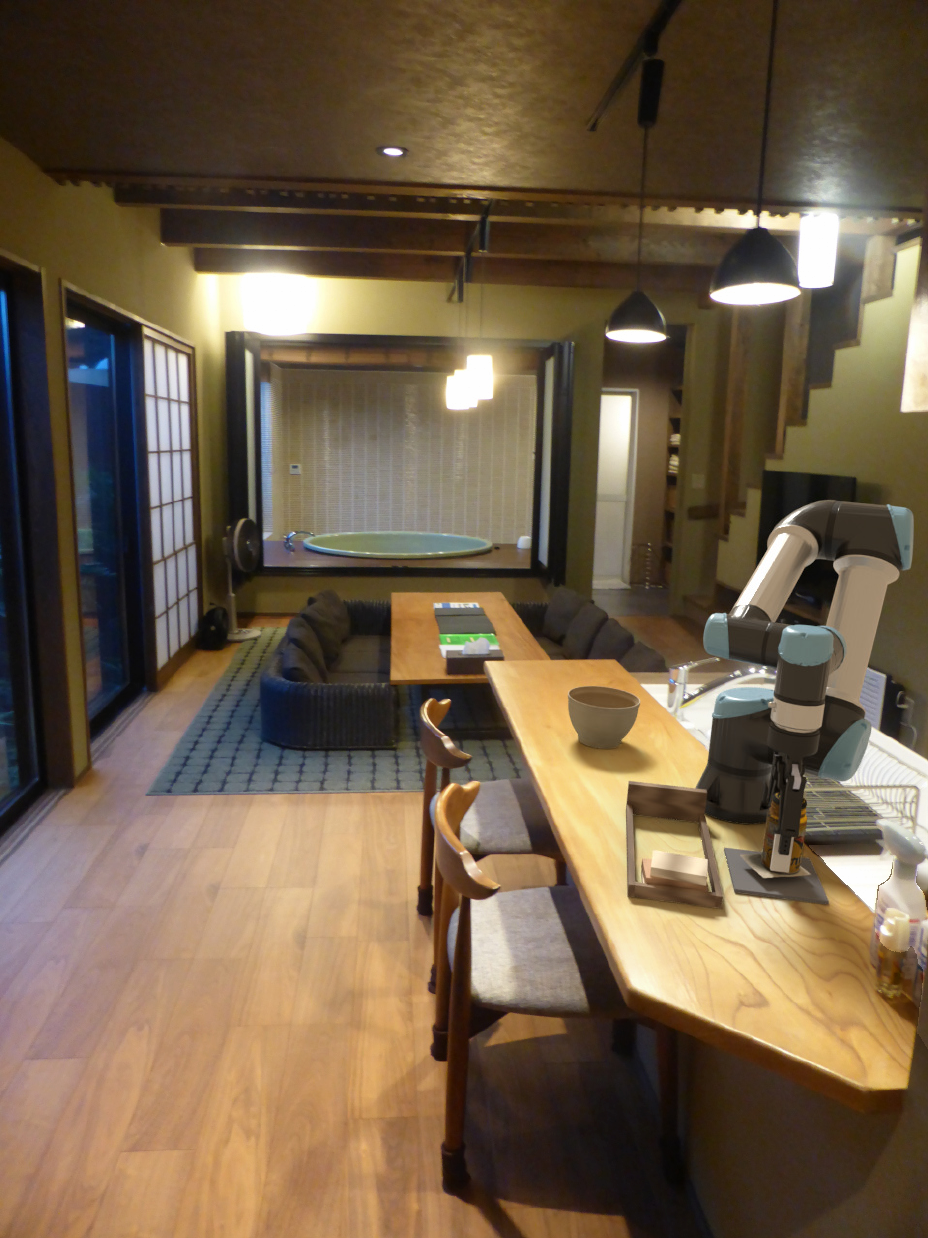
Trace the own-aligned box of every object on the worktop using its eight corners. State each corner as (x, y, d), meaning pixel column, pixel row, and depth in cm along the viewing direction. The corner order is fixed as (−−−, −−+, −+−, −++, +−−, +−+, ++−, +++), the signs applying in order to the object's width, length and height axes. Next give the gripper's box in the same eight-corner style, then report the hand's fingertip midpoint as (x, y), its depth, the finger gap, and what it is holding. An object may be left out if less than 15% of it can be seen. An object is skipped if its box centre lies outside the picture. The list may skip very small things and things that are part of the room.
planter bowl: (604, 761, 188) (608, 712, 185) (549, 738, 200) (553, 692, 197) (650, 745, 198) (655, 700, 196) (595, 725, 210) (599, 681, 208)
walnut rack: (702, 820, 162) (706, 789, 160) (721, 908, 132) (726, 872, 131) (625, 810, 164) (628, 780, 163) (627, 896, 134) (631, 860, 133)
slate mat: (809, 861, 148) (809, 858, 148) (828, 904, 135) (828, 901, 135) (723, 850, 150) (724, 847, 150) (734, 892, 137) (734, 889, 137)
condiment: (811, 875, 139) (821, 805, 137) (763, 879, 138) (773, 808, 135) (785, 853, 146) (794, 786, 144) (739, 856, 144) (748, 788, 142)
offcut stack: (704, 882, 140) (707, 855, 139) (708, 905, 133) (712, 877, 132) (640, 874, 142) (642, 848, 141) (641, 896, 135) (644, 868, 134)
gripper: (760, 703, 146) (743, 831, 152) (780, 743, 128) (760, 887, 133) (807, 708, 145) (788, 836, 151) (834, 749, 127) (812, 893, 132)
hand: (775, 860), depth 142 cm, fingers closed on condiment, 6 cm apart
